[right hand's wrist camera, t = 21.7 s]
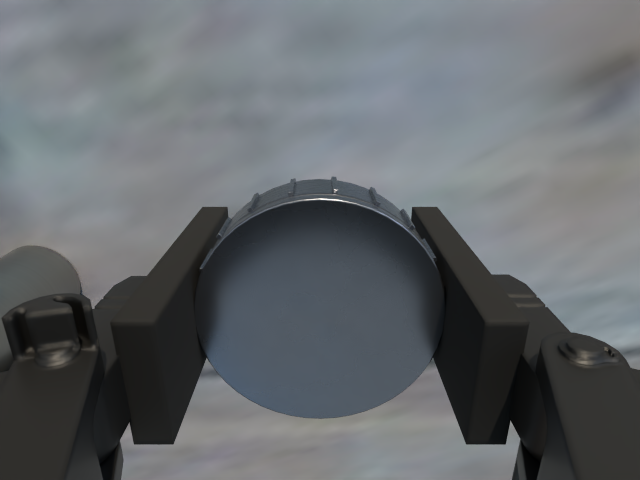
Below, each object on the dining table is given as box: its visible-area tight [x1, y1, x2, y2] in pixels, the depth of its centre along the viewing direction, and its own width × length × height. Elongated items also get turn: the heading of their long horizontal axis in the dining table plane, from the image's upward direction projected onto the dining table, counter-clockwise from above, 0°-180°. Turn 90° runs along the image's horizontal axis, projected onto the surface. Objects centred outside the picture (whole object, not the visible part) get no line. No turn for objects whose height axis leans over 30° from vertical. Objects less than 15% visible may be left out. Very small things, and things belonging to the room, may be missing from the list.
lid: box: [194, 177, 446, 419], centre depth 11 cm, size 6×6×2 cm
